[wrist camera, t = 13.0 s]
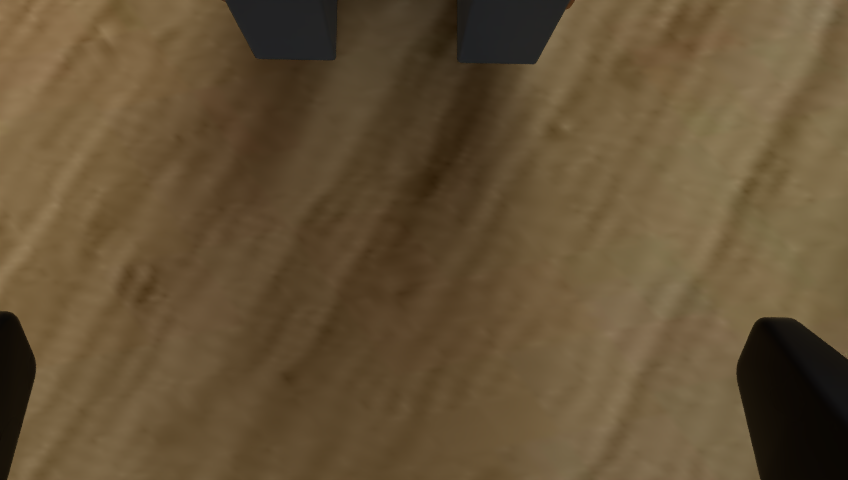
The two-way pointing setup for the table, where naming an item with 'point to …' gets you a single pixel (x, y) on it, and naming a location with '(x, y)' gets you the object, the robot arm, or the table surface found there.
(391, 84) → the table surface
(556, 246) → the table surface
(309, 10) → the dark blocky forked piece
